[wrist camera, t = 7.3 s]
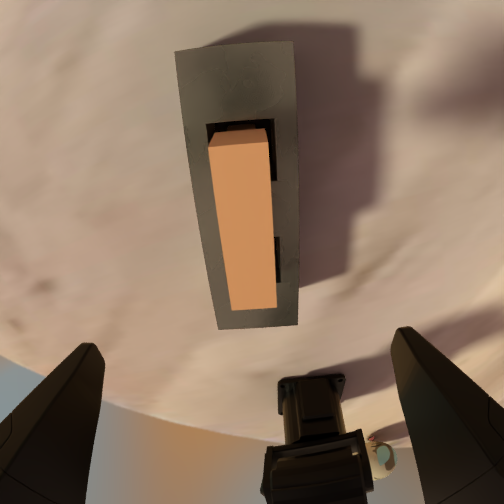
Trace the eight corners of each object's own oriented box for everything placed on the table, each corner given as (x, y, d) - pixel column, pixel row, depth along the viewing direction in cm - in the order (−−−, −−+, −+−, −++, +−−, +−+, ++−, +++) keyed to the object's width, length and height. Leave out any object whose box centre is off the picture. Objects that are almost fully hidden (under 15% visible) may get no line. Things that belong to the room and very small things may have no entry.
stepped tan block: (270, 246, 20) (276, 307, 16) (235, 248, 21) (231, 310, 16) (262, 117, 16) (267, 141, 11) (220, 121, 16) (208, 147, 12)
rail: (292, 290, 23) (297, 324, 20) (221, 295, 23) (218, 329, 20) (284, 45, 14) (293, 41, 11) (188, 53, 14) (174, 51, 12)
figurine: (400, 433, 39) (409, 471, 33) (369, 450, 42) (376, 486, 36) (370, 426, 36) (379, 470, 31) (337, 444, 39) (343, 485, 33)
